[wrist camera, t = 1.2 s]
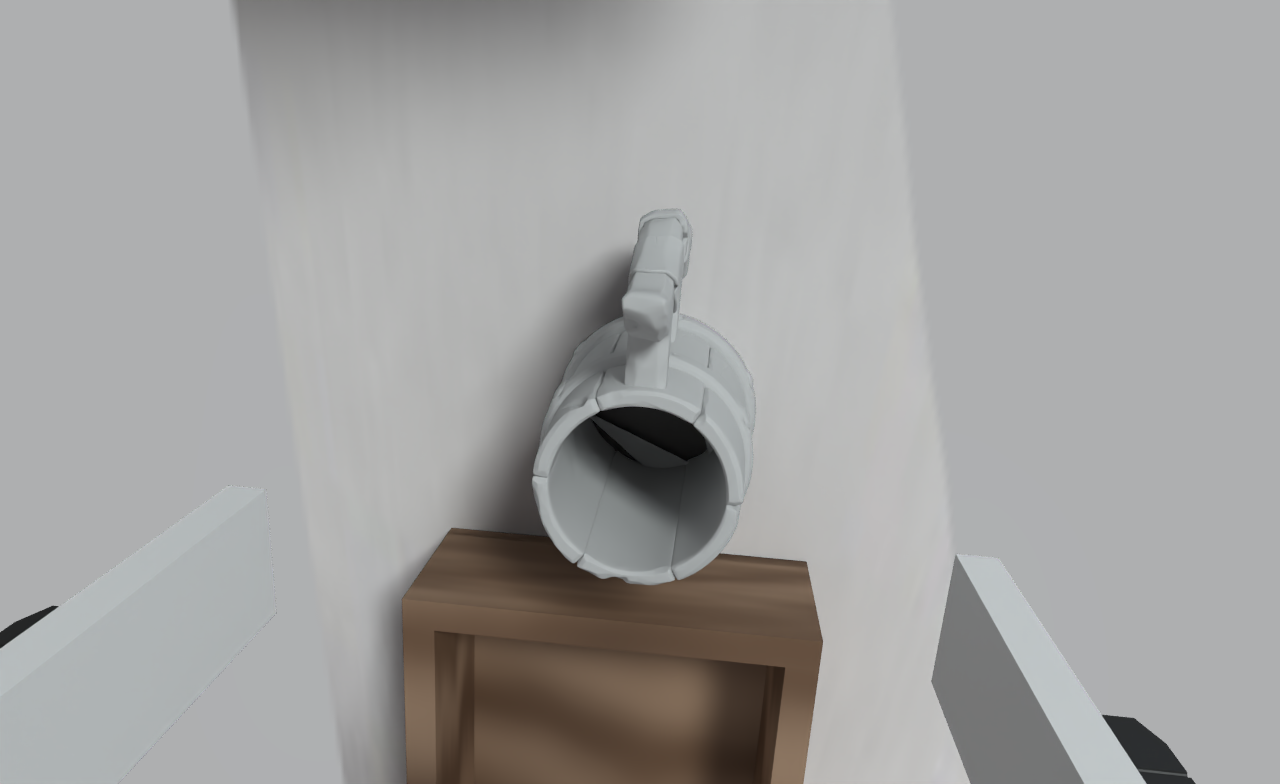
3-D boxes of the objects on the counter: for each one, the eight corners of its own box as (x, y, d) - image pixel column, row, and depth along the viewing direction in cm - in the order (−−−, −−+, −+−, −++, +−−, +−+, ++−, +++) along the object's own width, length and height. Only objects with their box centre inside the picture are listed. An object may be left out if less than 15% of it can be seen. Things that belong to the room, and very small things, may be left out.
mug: (563, 475, 36) (488, 633, 24) (575, 189, 32) (494, 215, 21) (743, 493, 35) (755, 662, 24) (775, 204, 32) (806, 238, 20)
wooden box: (451, 527, 37) (401, 598, 31) (806, 561, 36) (822, 641, 30) (454, 861, 42) (412, 975, 36) (762, 900, 41) (769, 1023, 35)
